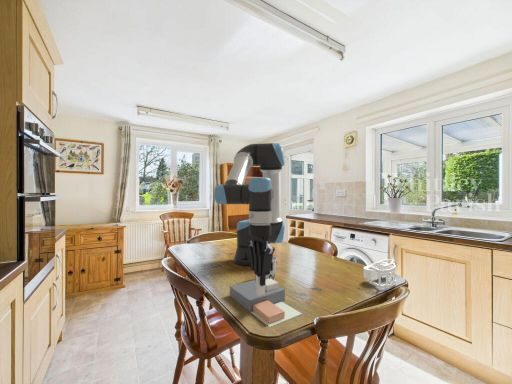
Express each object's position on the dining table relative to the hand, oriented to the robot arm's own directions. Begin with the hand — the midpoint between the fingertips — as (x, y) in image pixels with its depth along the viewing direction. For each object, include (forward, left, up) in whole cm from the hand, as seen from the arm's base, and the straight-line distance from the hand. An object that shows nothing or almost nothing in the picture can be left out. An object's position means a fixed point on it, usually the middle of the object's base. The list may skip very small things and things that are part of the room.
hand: (260, 294), depth 79 cm
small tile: (-5, +8, -1) cm, 9 cm away
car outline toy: (+9, +60, -6) cm, 61 cm away
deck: (-7, +4, -5) cm, 10 cm away
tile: (+4, 0, -5) cm, 7 cm away
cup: (-19, +18, -6) cm, 27 cm away
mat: (+5, +3, -5) cm, 8 cm away
